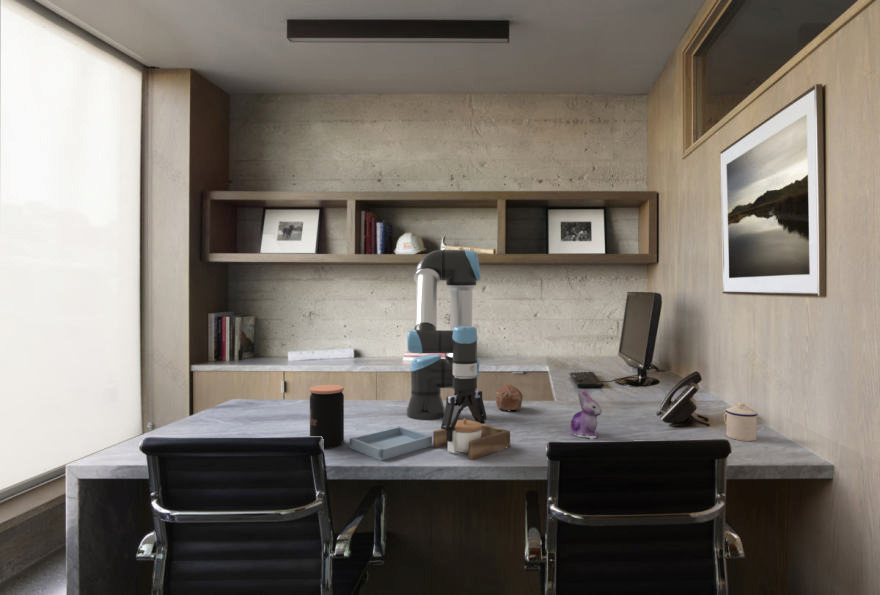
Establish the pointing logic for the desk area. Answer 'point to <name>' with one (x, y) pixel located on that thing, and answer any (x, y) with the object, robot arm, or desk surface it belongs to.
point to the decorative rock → (509, 398)
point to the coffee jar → (327, 414)
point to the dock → (479, 441)
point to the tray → (390, 442)
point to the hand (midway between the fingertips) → (464, 447)
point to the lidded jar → (466, 433)
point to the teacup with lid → (741, 422)
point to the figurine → (586, 416)
